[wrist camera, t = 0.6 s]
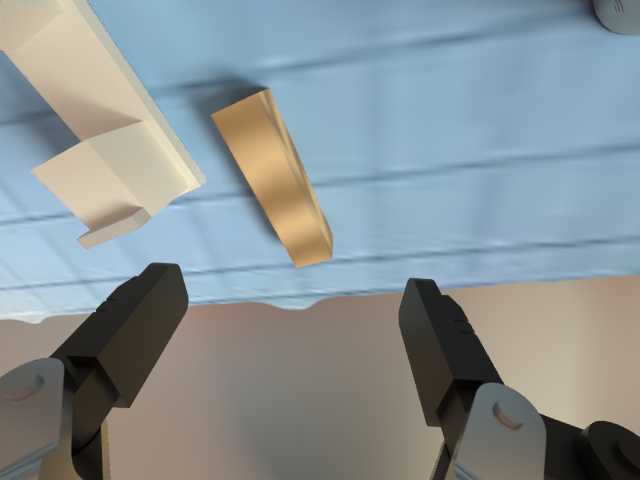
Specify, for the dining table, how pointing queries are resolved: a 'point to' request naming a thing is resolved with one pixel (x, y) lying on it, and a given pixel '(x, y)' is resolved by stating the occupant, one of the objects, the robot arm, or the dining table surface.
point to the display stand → (96, 119)
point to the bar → (276, 176)
